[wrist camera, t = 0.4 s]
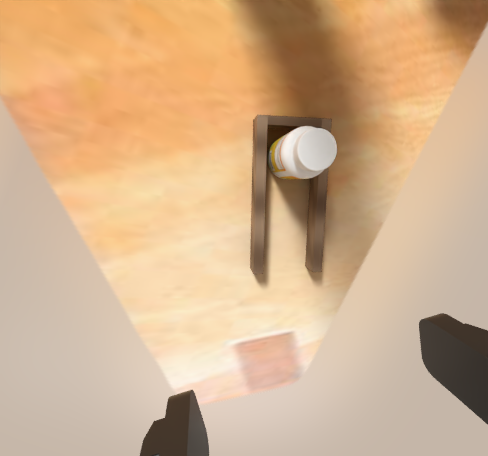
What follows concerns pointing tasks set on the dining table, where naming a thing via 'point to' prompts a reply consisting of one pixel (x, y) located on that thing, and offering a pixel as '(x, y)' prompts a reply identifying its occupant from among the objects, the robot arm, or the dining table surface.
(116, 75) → the dining table surface
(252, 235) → the walnut U-rest
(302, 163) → the supplement bottle
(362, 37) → the dining table surface
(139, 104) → the dining table surface
